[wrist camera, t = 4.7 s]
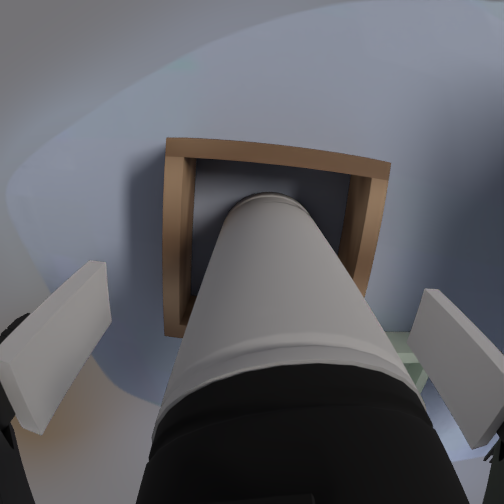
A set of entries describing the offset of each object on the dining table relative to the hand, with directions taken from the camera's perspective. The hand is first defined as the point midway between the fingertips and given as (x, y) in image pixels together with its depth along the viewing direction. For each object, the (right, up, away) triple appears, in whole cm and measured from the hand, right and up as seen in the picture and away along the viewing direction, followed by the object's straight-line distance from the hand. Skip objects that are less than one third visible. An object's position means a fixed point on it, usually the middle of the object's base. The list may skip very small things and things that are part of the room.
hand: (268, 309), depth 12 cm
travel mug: (0, +3, +9) cm, 10 cm away
